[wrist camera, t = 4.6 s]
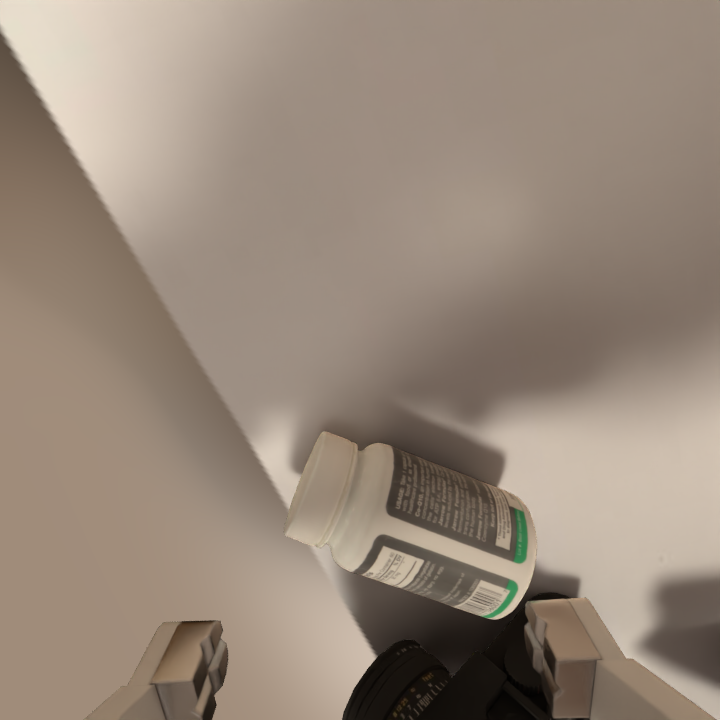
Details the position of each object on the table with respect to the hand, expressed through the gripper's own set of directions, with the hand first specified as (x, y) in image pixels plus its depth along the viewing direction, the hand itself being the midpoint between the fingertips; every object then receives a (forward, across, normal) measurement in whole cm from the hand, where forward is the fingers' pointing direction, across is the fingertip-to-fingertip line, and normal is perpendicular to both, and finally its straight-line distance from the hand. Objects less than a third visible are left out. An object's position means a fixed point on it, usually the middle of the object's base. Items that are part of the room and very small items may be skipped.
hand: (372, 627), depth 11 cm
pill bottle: (+5, -5, +3) cm, 8 cm away
